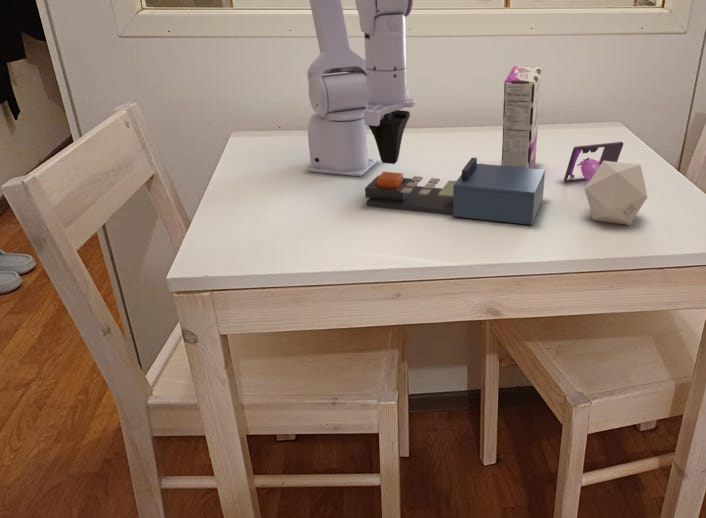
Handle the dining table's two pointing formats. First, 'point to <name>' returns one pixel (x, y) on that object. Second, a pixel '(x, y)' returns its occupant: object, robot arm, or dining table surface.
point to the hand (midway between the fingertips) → (389, 162)
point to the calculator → (408, 199)
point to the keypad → (430, 187)
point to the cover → (498, 193)
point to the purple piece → (591, 165)
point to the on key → (390, 180)
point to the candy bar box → (521, 116)
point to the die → (616, 192)
